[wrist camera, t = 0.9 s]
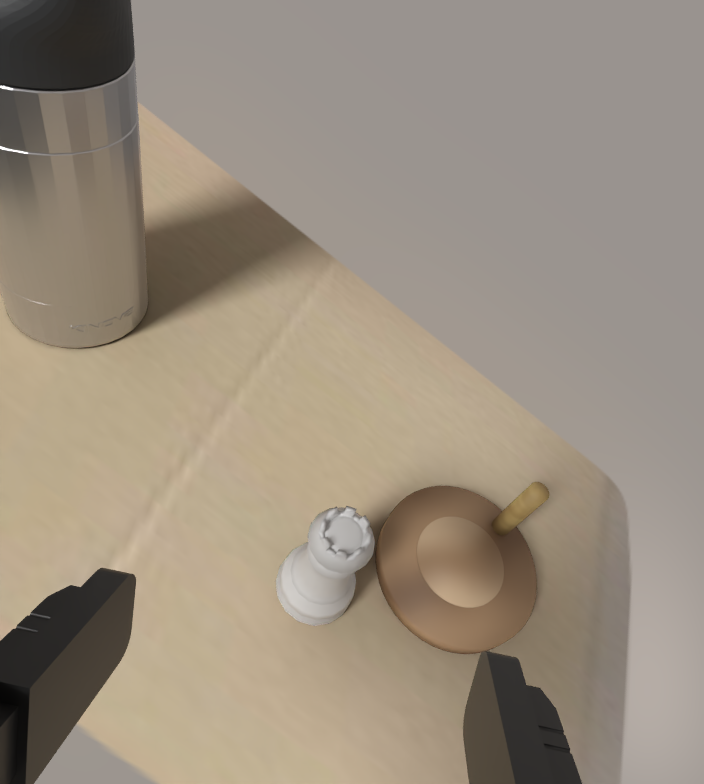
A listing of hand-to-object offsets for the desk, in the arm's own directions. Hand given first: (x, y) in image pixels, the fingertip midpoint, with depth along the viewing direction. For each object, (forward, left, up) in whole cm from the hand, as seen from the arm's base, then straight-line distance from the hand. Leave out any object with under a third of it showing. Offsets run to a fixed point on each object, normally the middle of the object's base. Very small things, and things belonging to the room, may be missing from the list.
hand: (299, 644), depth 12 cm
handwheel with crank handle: (0, +15, -18) cm, 24 cm away
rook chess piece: (-4, +7, -18) cm, 20 cm away
